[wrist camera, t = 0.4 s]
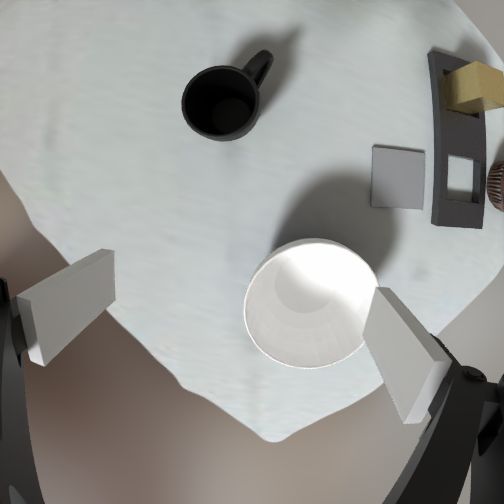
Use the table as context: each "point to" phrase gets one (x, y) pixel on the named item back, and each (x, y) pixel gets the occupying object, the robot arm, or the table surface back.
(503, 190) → the cupcake
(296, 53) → the table surface
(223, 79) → the mug
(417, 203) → the pad
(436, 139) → the dark grey peg board
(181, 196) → the table surface
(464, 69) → the tan wooden peg
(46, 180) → the table surface
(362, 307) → the bowl
